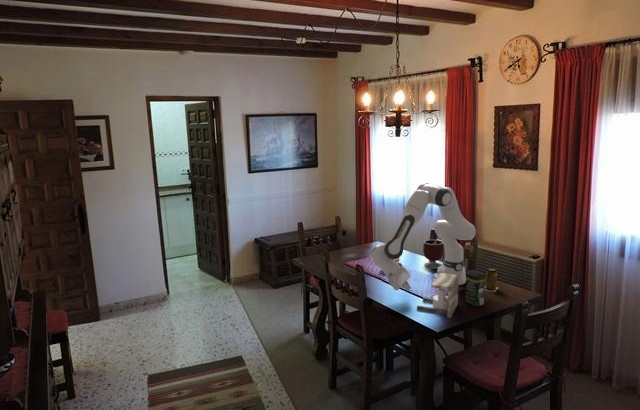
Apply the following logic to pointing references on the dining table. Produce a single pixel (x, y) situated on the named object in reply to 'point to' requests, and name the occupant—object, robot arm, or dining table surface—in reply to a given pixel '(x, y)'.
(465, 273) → the robot arm
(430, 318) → the dining table surface
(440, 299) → the base with upright slab
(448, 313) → the shelf
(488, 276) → the condiment
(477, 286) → the coffee jar
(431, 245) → the mate gourd
